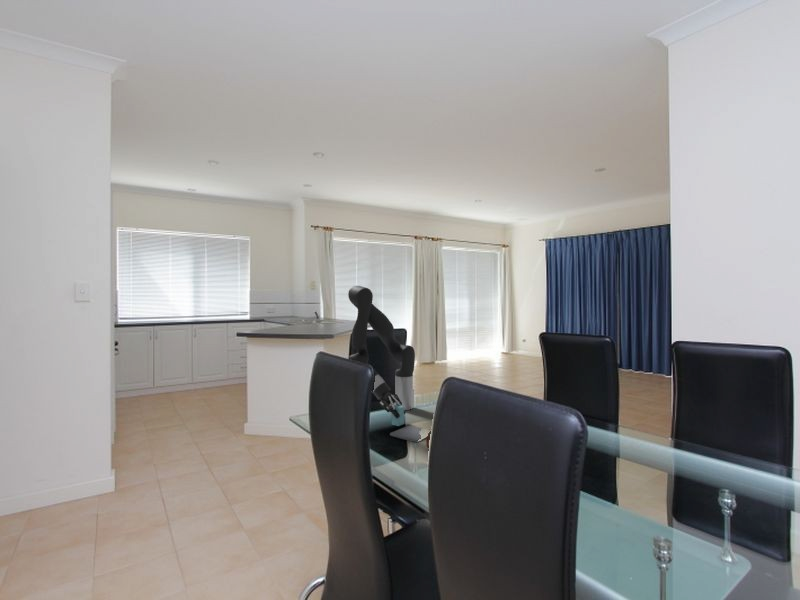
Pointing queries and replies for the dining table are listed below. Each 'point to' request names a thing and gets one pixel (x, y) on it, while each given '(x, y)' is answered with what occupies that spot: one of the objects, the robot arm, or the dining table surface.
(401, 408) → the block
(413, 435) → the mat
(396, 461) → the dining table surface
